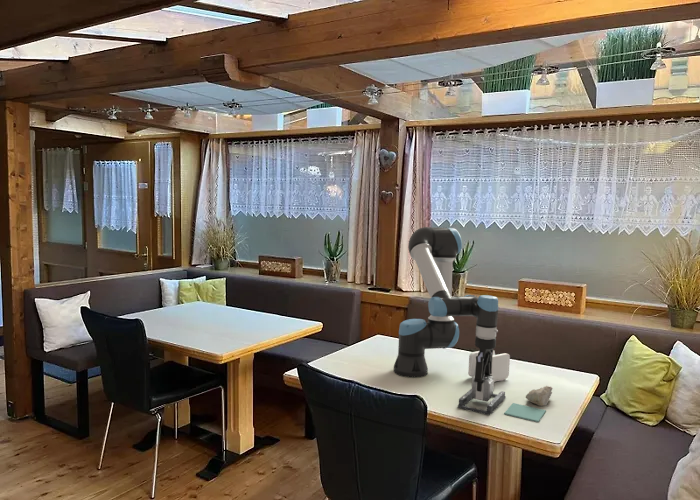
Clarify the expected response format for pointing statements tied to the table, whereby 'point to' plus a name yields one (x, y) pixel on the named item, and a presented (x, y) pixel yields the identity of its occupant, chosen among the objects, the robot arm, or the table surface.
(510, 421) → the table surface
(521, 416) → the pad
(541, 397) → the stone
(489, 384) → the grey cube with hole
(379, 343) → the table surface
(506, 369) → the cable organizer
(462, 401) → the dark grey open frame
